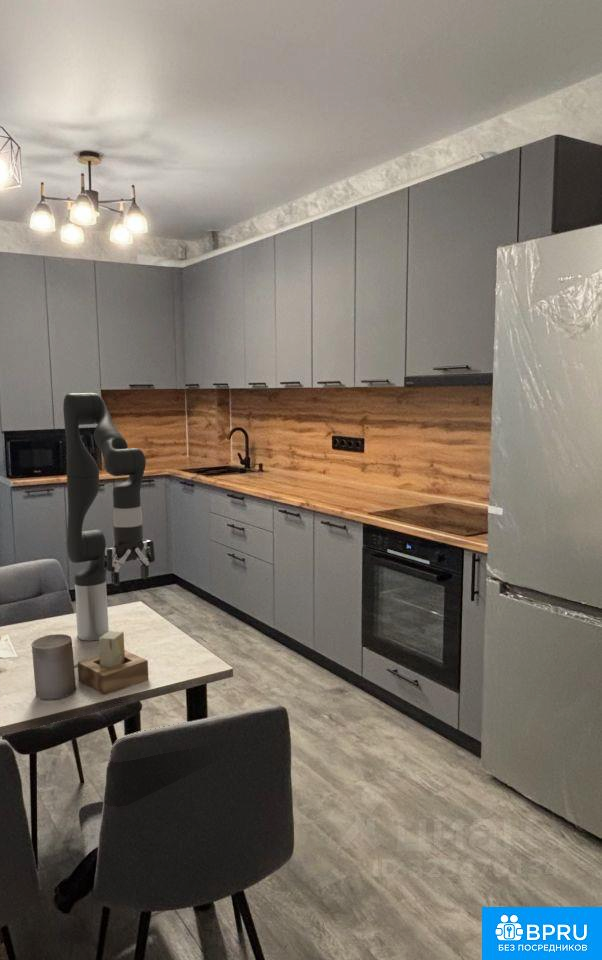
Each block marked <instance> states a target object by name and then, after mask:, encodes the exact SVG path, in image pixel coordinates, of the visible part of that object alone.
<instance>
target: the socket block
mask: <svg viewBox="0 0 602 960" xmlns="http://www.w3.org/2000/svg"><path fill="white" fill-rule="evenodd" d="M124 652H125V663H124V664H121V665H118V666H115V667H112V668H109V669H106V668H104V667H102V666H100V654H99V655H94V656H92V657H88V658H86V659H82V660H80V661H77V663H76V664H77V675H78V676H77V677H78V683H81V684H82V685H85V686H87V687H89V688H90V689H92V690H94V691H95V692H98V693H99V694H101V695H103V696H107V695H109V694H112V693H115V692H118V691H121V690H124V689H126V688H129V687H132V686H134V685H137V684H140V683H143V682H145V681H148V680H149V663H148V662H149V661H148V659H145V658H144V657H141V656H139V655H137V654H134V653H132V652H130V651H128V650H125V649H124Z"/></svg>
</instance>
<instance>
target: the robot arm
mask: <svg viewBox="0 0 602 960" xmlns="http://www.w3.org/2000/svg"><path fill="white" fill-rule="evenodd" d="M62 411H63V423H64V431H65V432H64V433H65V441H66V442H65V443H66V488H67V489H66V490H67V507H68V509H67V512H68V513H67V514H68V515H67V530H66V531H67V532H66V550H67V551H66V552H67V556H68V559H69V561H70V562H71V563H73V564H79V563H86V562H89V563H88V564H87V565H86V566H85V567H84V568H83V569H81V570H79V571H78V572H76V573H75V574H74V589H75V592H74V593H75V615H76V616H75V617H76V631H77V638H78V639H79V640H82V641H89V642H90V641H97V640H98V641H99V638H100V637H102V636H103V635H104V634H106V633H107V632H109V631H110V630H109V628H110V627H109V613H108V612H109V611H108V596H107V595H108V594H107V592H108V591H107V579H106V578H107V577H106V576H107V572H110V577H111V583H112V584H113V585H114V586H116V587H117V586H120V572H119V570H120V568H121V567H122V566H124V564H125V562H126V563H127V562H129V561H135V560H138V562H139V563H140V578H141V579H142V580H143V579H144V580H147V579H148V577H149V574H150V573H149V571H150V570H149V565H150V564H151V563H154V562H155V560H156V559H155V558H156V557H155V549H154V548H155V546H154V541H153V540H150V539H145V540H144V532H143V531H144V530H143V529H144V528H143V512H142V508H141V507H142V506H141V487H142V481H143V477H144V473H145V469H146V464H147V458H146V455H145V454H144V452H143V450H141V449H140V448H137V447H136V448H135V447H131V448H128V443H127V441H126V439H125V438H124V437H123V435H122V434H121V433H120V432H119V430H118V429H117V427H116V426H115V424H114V423H115V422H114V420H113V419H112V417H111V414H110V412H109V409H108V407H107V405H106V403H105V400H104V399H103V397H102V396H101V395H100V394H98V393H96V392H95V393H94V392H84V393H83V392H79V393H78V392H72V393H67V394H66V395H65V396H64V399H63V410H62ZM95 424H97V425H96V427H95V430H94V433H93V438H94V439H93V440H94V443H95V445H96V446H97V448H98V450H100V452H101V453H102V456H103V460H104V462H103V463H104V467H105V470H106V472H107V474H109V475H111V476H113V477H123V476H128V478H127V480H126V481H124V482H121V483H119V484H117V485H115V486H114V487H113V488H112V500H113V513H112V514H113V515H112V519H113V520H112V523H113V524H112V525H113V541H114V546H113V547H107V540H106V537H105V534H104V533H103V532H102V531H101V530H100V529H90V530H84V531H83V525H84V521H85V517H86V515H87V513H88V511H89V509H90V508H91V506H92V505H93V503H94V501H95V500H96V498H97V496H98V493H99V490H100V470H99V466H98V463H97V462H96V460H95V459H94V457H93V456H92V454H91V453H90V451H89V450H88V448H87V446H85V444H84V442H83V440H82V437H81V434H80V427H79V426H80V425H81V426H82V425H95ZM143 540H144V541H143ZM143 549H145V554H144V553H143ZM114 555H115V556H114ZM113 556H114V558H113Z"/></svg>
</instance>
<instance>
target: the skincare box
mask: <svg viewBox="0 0 602 960" xmlns="http://www.w3.org/2000/svg"><path fill="white" fill-rule="evenodd" d="M98 647H99V648H98V649H99V651H98V653H99V655H100V666H102V667H104V668H106V669H109V668H112V667H115V666H118V665H121V664H124V663H125V652H124V650H125V633H124V631H117V630H115V631H113V630H109V632H107V633H106V634H104V635H103V636H102V637H100V638H99V639H98Z"/></svg>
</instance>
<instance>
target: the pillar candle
mask: <svg viewBox="0 0 602 960" xmlns="http://www.w3.org/2000/svg"><path fill="white" fill-rule="evenodd" d="M30 645H31V653H32V654H31V655H32V663H33V664H32V665H33V676H34V677H33V678H34V688H35V697H36V696H37V697H38V698H37V697H36V698H37V699H39V698H40V699H39V700H42V699H47V700H49V701H54V699H57V700H60V699H64V698H66V697H69V696H71V695H72V694H73V693H75V691H76V690H77V686H76V685H77V684H76V675H75V674H76V673H75V663H74V652H73V651H74V650H73V640H72V637H71V636H70V635H69V634H68V635H67V634H62V633H61V634H60V633H58V634H57V633H56V634H49V635H44V636H41V637H38V638H36V639H34V640H33V641H32V642H31V644H30Z"/></svg>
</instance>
